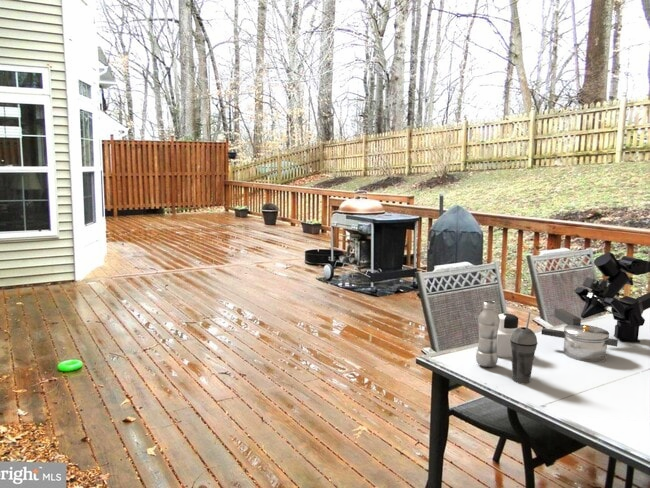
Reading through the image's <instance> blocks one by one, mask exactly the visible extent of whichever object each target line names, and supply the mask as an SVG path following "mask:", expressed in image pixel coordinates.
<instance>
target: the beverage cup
mask: <svg viewBox="0 0 650 488" xmlns="http://www.w3.org/2000/svg"><path fill="white" fill-rule="evenodd" d="M531 313H532V312H530V311H529V312H528V314H527V321H526V326H525V327H523V326H521V327H518V329H516V330H515V331H514V332H513V333H512V336H511V339H510V341H511V348H512V357H511V372H512V373H511V375H512V381H513V380H514V381H513V382H515V383H517V382H518V383H517V384H521V383H524V384H526V383H527V384H529V383H530V382H531V381H530V380H531V377H532V371H533V365H534V359H535V352H536V350H537V346H538V339H537V335H536V334H535V332H534V331H533V330H532V329H530V328H529V324H530V319H531ZM527 384H526V385H527Z"/></svg>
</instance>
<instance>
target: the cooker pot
mask: <svg viewBox="0 0 650 488" xmlns="http://www.w3.org/2000/svg"><path fill="white" fill-rule="evenodd" d="M540 335H541V336H550V337H555V338H561V339H563V350H562V351H563V355H565V356H566V357H568V358H571V359H574V360H578V361H582V362H588V363H589V362H590V363H600V362H604V361H605V360H606V358H607V350H608V348H607V347H608V346H613V347H615V348H617V346H618V343H619V342H618V341H619V340H618V339H617V338H608V339H606V340H600V341H593V340H584V339H579V338H575V337H572V336H569V335H567V334H566V333H565V332H564V330H557V329H552V328H551V329H550V328H545V327H542V329H541V334H540Z"/></svg>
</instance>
